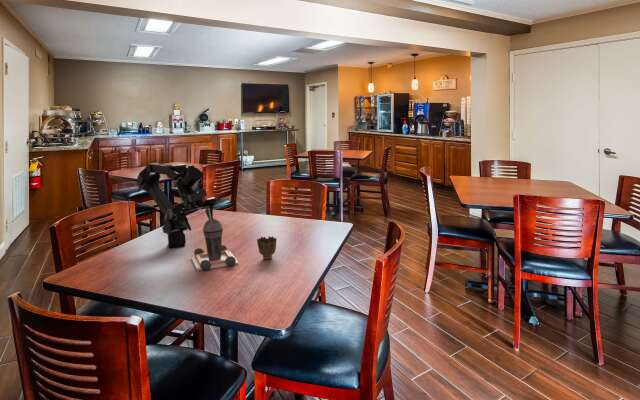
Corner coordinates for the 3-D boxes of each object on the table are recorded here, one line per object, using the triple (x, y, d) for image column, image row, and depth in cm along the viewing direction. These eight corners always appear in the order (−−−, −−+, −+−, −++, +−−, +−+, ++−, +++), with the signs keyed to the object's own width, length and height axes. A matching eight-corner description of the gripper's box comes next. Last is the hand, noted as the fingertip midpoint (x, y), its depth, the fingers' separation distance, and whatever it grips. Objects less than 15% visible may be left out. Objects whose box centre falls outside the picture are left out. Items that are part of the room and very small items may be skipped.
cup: (277, 255, 164) (277, 235, 163) (276, 261, 157) (275, 241, 155) (258, 255, 164) (257, 236, 162) (256, 262, 157) (255, 241, 155)
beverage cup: (228, 258, 159) (225, 206, 155) (214, 263, 153) (210, 210, 149) (215, 254, 163) (212, 204, 159) (200, 260, 157) (197, 208, 153)
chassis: (197, 271, 148) (196, 262, 147) (191, 258, 163) (190, 249, 162) (239, 265, 154) (238, 255, 153) (229, 252, 169) (229, 243, 168)
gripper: (168, 188, 155) (184, 226, 152) (214, 178, 167) (229, 212, 164) (162, 201, 164) (177, 236, 161) (206, 190, 175) (220, 223, 172)
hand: (201, 227), depth 164 cm, fingers open, 9 cm apart
